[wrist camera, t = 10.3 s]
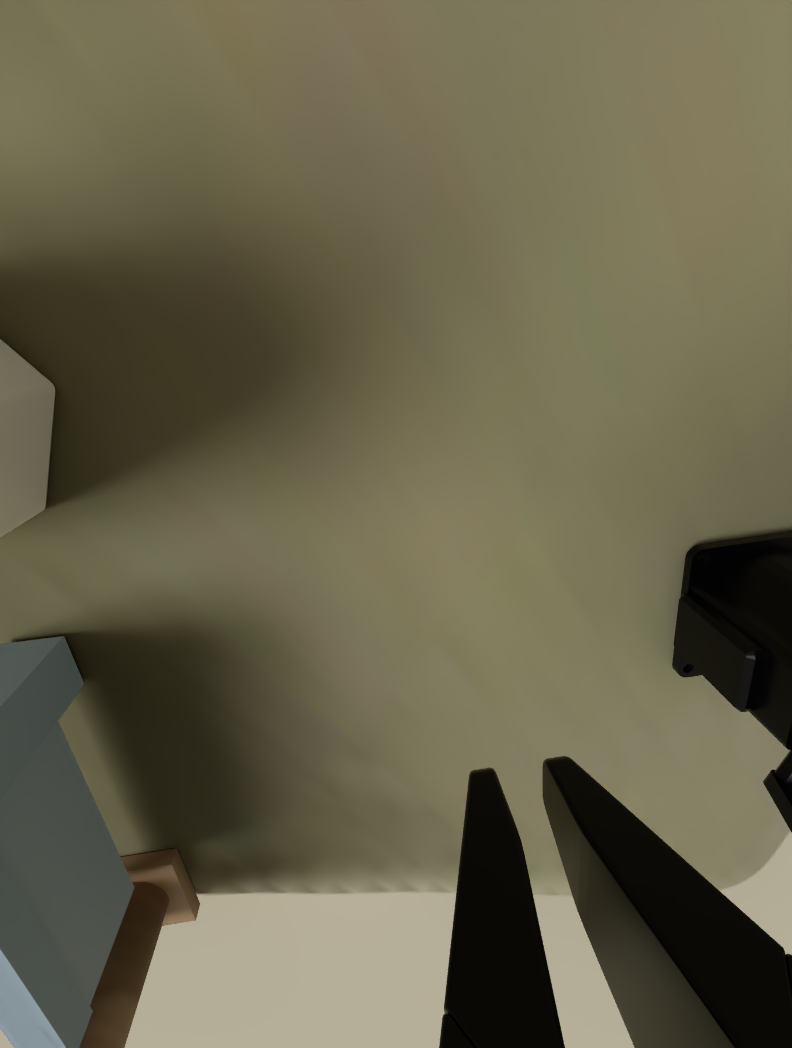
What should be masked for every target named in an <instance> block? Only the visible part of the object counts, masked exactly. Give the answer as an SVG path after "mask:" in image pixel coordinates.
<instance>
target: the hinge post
mask: <svg viewBox="0 0 792 1048" xmlns="http://www.w3.org/2000/svg"><path fill="white" fill-rule="evenodd" d="M121 859H122V861H123V864H124V866H125V868H126V870H127V872H128V874H129V877H130V879H131V881H132V883H133V885H134V887H135V888H134V890H133V893H132V896H131V898H130V901H129V903H128V906H127V909H126V911H125V914H124V917H123V919H122V922H121V925H120V927H119V930H118V933H117V935H116V938H115V941H114V943H113V946H112V948H111V951H110V954H109V956H108V959H107V962H106V964H105V967H104V970H103V972H102V975H101V978H100V980H99V983H98V986H97V988H96V991H95V994H94V996H93V999H92V1001H91V1004H90V1007H91V1009H92V1010H93V1012H92V1015H91V1017H90V1020H89V1023H88V1025H87V1028H86V1031H85V1034H84V1036H83V1039H82V1042H81V1044H80V1047H79V1048H124V1047H125V1044H126V1040H127V1037H128V1034H129V1031H130V1027H131V1024H132V1021H133V1018H134V1014H135V1011H136V1008H137V1004H138V1001H139V998H140V995H141V991H142V989H143V985H144V982H145V979H146V975H147V972H148V969H149V966H150V962H151V959H152V956H153V953H154V950H155V946H156V943H157V940H158V937H159V933H160V930H161V927H162V926H164V925H170V924H176V923H182V922H188V921H195V920H196V917H197V913H198V910H199V906H200V903H199V900H198V898H197V895H196V893H195V891H194V888H193V886H192V883H191V881H190V879H189V876H188V874H187V871H186V869H185V866H184V864H183V862H182V859H181V857H180V854H179V852H178V850H177V848H176V849H169V850H163V851H157V852H150V853H144V854H138V855H131V856H125V857H121Z"/></svg>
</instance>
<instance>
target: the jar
mask: <svg viewBox="0 0 792 1048" xmlns="http://www.w3.org/2000/svg"><path fill="white" fill-rule="evenodd" d="M54 402H55V387H54V385H53V384H52V382H50V381H49V380H48V379H47V378H46V377H45V376H43V375H42V374H41V373H40V372H39V371H37V370H36V369H35V368H34V367H33V366H32V365H30V364H29V363H28V362H27V361H26V360H25V359H23V358H22V357H21V356H20V355H19V354H17V353H16V352H15V351H14V350H13V349H12V348H10V347H9V346H8V345H7V344H6V343H5V342H3V341H2V340H1V339H0V538H1V537H3V536H4V535H6V534H8V533H9V532H11V531H12V530H14V529H16V528H17V527H19V526H20V525H22V524H24V523H25V522H27V521H28V520H30V519H32V518H33V517H35V516H36V515H38V514H39V513H41V512H42V511H43V510H44V509H45V507H46V498H47V486H48V474H49V462H50V450H51V438H52V426H53V414H54Z"/></svg>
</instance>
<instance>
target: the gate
mask: <svg viewBox="0 0 792 1048" xmlns="http://www.w3.org/2000/svg"><path fill="white" fill-rule="evenodd" d="M83 686H84V682H83V680H82V678H81V675H80V673H79V670H78V668H77V666H76V663H75V661H74V659H73V656H72V654H71V651H70V649H69V647H68V644H67V642H66V639H65V637H64V636H60V637H52V638H44V639H37V640H29V641H21V642H13V643H5V644H1V645H0V1029H1V1030H2V1032H3V1033H4V1034H5V1036H6V1037H7V1038H8V1040H9V1041H10V1042H11V1044H12V1045H13V1047H14V1048H79V1047H80V1044H81V1042H82V1039H83V1036H84V1034H85V1031H86V1028H87V1025H88V1023H89V1020H90V1017H91V1015H92V1012H93V1010H92V1009H91V1007H90V1004H91V1001H92V999H93V996H94V994H95V991H96V988H97V986H98V983H99V980H100V978H101V975H102V972H103V970H104V967H105V964H106V962H107V959H108V956H109V954H110V951H111V948H112V946H113V943H114V941H115V938H116V935H117V933H118V930H119V927H120V925H121V922H122V919H123V917H124V914H125V911H126V909H127V906H128V903H129V901H130V898H131V896H132V893H133V890H134V888H135V887H134V885H133V883H132V881H131V879H130V877H129V874H128V872H127V870H126V868H125V866H124V864H123V861H122V859H121V857H120V855H119V853H118V851H117V848H116V846H115V844H114V842H113V840H112V838H111V835H110V833H109V831H108V829H107V827H106V824H105V822H104V820H103V818H102V816H101V814H100V811H99V809H98V807H97V805H96V803H95V801H94V798H93V796H92V794H91V792H90V790H89V788H88V785H87V783H86V781H85V779H84V777H83V775H82V772H81V770H80V768H79V766H78V764H77V761H76V759H75V757H74V755H73V753H72V751H71V748H70V746H69V744H68V742H67V740H66V738H65V735H64V733H63V731H62V729H61V727H60V725H59V722H58V720H59V719H60V717H61V716H62V715H63V713H64V712H65V711H66V709H67V708H68V706H69V705H70V704H71V702H72V701H73V699H74V698H75V697H76V695H77V694H78V693H79V691H80V690H81V688H82V687H83Z"/></svg>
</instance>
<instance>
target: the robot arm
mask: <svg viewBox="0 0 792 1048" xmlns="http://www.w3.org/2000/svg"><path fill="white" fill-rule="evenodd" d="M701 555H703V557H702V558H701V559H700V560H698V558H699V557H700V556H701ZM697 560H698V561H697ZM685 665H686V666H685ZM672 666H673V669H674V670H675V671H676V672H677V673H678V674H679V675H680V676H682V677H692V676H698V675H703V676H704V677H705V678H706V679H707V680H708V681H709V682H710V683H711V684H712V685H713V686H714V687H715V688H716V689H717V690H718V691H719V692H720V693H721V694H722V695H723V696H724V697H725V698H726V699H727V700H728V701H729V702H730V703H731V704H732V705H733V706H734V707H735V708H736V709H738V710H739V711H740V712H747V711H749V712H750V713H751V714H752V715H753V716H754V717H755V718H756V719H757V720H758V721H759V722H760V723H761V724H762V725H763V726H765V727H766V728H767V729H768V730H769V731H770V732H771V733H772V734H773V735H774V736H775V737H776V738H777V739H778V740H779V741H780V742H781V743H782V744H783V745H784V746H785V747H786V748H787V749H788V750H790V752H789V753H788V754H787V756H786V757H785V758H784V760H783V761H782V762H781V764H780V765H779V766H778V768H777V769H776V770H771V772H770V773H769V774H768V776H767V777H766V778H765V780H764V781H763V783H764V785H765V787H766V788H767V790H768V792H769V794H770V795H771V797H772V799H773V801H774V802H775V804H776V806H777V808H778V809H779V811H780V813H781V815H782V816H783V818H784V820H785V822H786V823H787V825H788V827H789V829H790V830H791V832H792V532H786V533H778V534H771V535H764V536H757V537H750V538H743V539H736V540H729V541H722V542H715V543H708V544H701V545H696V546H694V547H692V548H691V549H690V550H689V551H688V552H687V554H686V558H685V566H684V574H683V582H682V590H681V597H680V599H679V605H678V614H677V622H676V630H675V638H674V655H673V663H672ZM684 666H685V667H684ZM543 800H544V805H545V809H546V812H547V815H548V819H549V822H550V825H551V828H552V831H553V835H554V838H555V841H556V844H557V847H558V851H559V854H560V857H561V860H562V863H563V867H564V870H565V873H566V876H567V879H568V883H569V886H570V889H571V892H572V895H573V898H574V901H575V904H576V907H577V910H578V913H579V915H580V918H581V921H582V923H583V926H584V928H585V931H586V933H587V935H588V938H589V940H590V942H591V945H592V947H593V949H594V952H595V954H596V957H597V959H598V961H599V964H600V966H601V969H602V971H603V973H604V976H605V978H606V980H607V983H608V985H609V988H610V990H611V992H612V995H613V997H614V999H615V1002H616V1004H617V1007H618V1009H619V1011H620V1014H621V1016H622V1019H623V1021H624V1023H625V1025H626V1028H627V1030H628V1033H629V1035H630V1038H631V1040H632V1042H633V1045H634V1047H635V1048H792V955H790V954H786V955H785V951H784V949H783V947H781V946H780V945H779V944H778V943H777V942H776V941H775V940H774V939H773V938H771V937H770V936H769V935H768V934H767V933H766V932H765V931H764V930H763V929H761V928H760V927H759V926H758V925H757V924H756V923H755V922H754V921H752V920H751V919H750V918H749V917H748V916H747V915H746V914H745V913H743V912H742V911H741V910H740V909H739V908H738V907H737V906H736V905H735V904H733V903H732V902H731V901H730V900H729V899H728V898H727V897H726V896H724V895H723V894H722V893H721V892H720V891H719V890H718V889H717V888H715V887H714V886H713V885H712V884H711V883H710V882H709V881H708V880H707V879H705V878H704V877H703V876H702V875H701V874H700V873H699V872H698V871H696V870H695V869H694V868H693V867H692V866H691V865H690V864H689V863H687V862H686V861H685V860H684V859H683V858H682V857H681V856H680V855H679V854H677V853H676V852H675V851H674V850H673V849H672V848H671V847H670V846H668V845H667V844H666V843H665V842H664V841H663V840H662V839H661V838H659V837H658V836H657V835H656V834H655V833H654V832H653V831H652V830H651V829H649V828H648V827H647V826H646V825H645V824H644V823H643V822H642V821H640V820H639V819H638V818H637V817H636V816H635V815H634V814H633V813H631V812H630V811H629V810H628V809H627V808H626V807H625V806H624V805H622V804H621V803H620V802H619V801H618V800H617V799H616V798H615V797H614V796H612V795H611V794H610V793H609V792H608V791H607V790H606V789H605V788H603V787H602V786H601V785H600V784H599V783H598V782H597V781H596V780H594V779H593V778H592V777H591V776H590V775H589V774H588V773H587V772H586V771H584V770H583V769H582V768H581V767H580V766H579V765H578V764H577V763H575V762H574V761H573V760H572V759H571V758H569V757H567V756H561V757H555V758H548V759H545V760H544V762H543ZM444 1011H445V1014H444V1015H443V1018H442V1027H441V1037H440V1046H439V1048H565V1046H564V1041H563V1037H562V1032H561V1027H560V1022H559V1018H558V1013H557V1008H556V1004H555V998H554V994H553V989H552V984H551V979H550V974H549V970H548V965H547V960H546V955H545V951H544V946H543V941H542V936H541V931H540V927H539V922H538V917H537V912H536V908H535V903H534V898H533V893H532V888H531V884H530V879H529V874H528V869H527V865H526V860H525V855H524V851H523V847H522V843H521V839H520V836H519V833H518V830H517V828H516V825H515V822H514V819H513V817H512V814H511V811H510V809H509V806H508V803H507V801H506V798H505V795H504V793H503V790H502V787H501V785H500V782H499V779H498V777H497V774H496V772H495V770H494V769H492V768H485V769H478V770H473V771H471V772H470V775H469V782H468V792H467V801H466V810H465V819H464V828H463V838H462V847H461V856H460V865H459V874H458V884H457V893H456V902H455V912H454V921H453V930H452V939H451V948H450V957H449V966H448V975H447V985H446V994H445V1003H444Z"/></svg>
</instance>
